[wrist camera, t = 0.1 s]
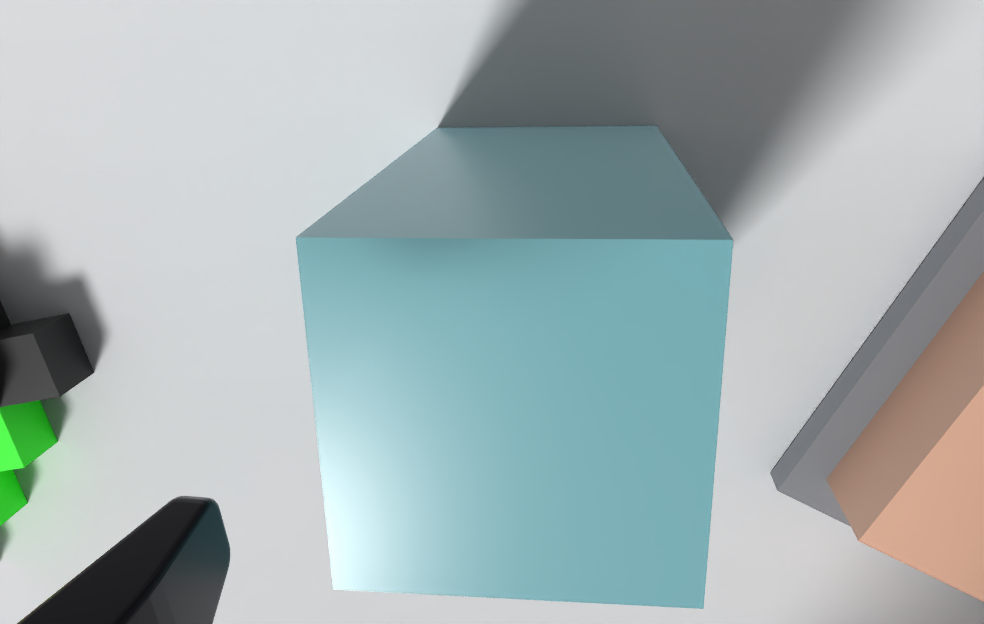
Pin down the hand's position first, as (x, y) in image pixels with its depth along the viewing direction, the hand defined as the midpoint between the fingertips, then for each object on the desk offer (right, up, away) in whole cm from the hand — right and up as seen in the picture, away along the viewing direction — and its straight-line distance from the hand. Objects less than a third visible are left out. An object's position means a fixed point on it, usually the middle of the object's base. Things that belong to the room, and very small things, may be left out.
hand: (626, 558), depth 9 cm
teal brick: (0, +5, +15) cm, 16 cm away
